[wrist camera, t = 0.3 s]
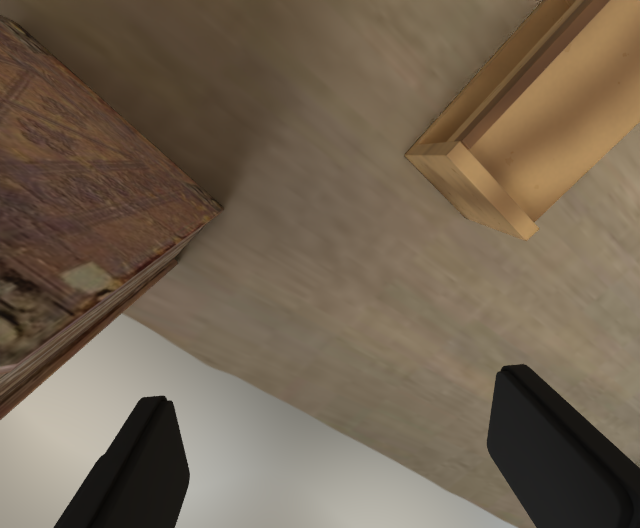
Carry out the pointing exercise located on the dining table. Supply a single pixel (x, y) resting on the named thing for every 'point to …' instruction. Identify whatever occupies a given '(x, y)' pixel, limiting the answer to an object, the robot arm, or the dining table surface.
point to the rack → (537, 114)
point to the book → (75, 214)
